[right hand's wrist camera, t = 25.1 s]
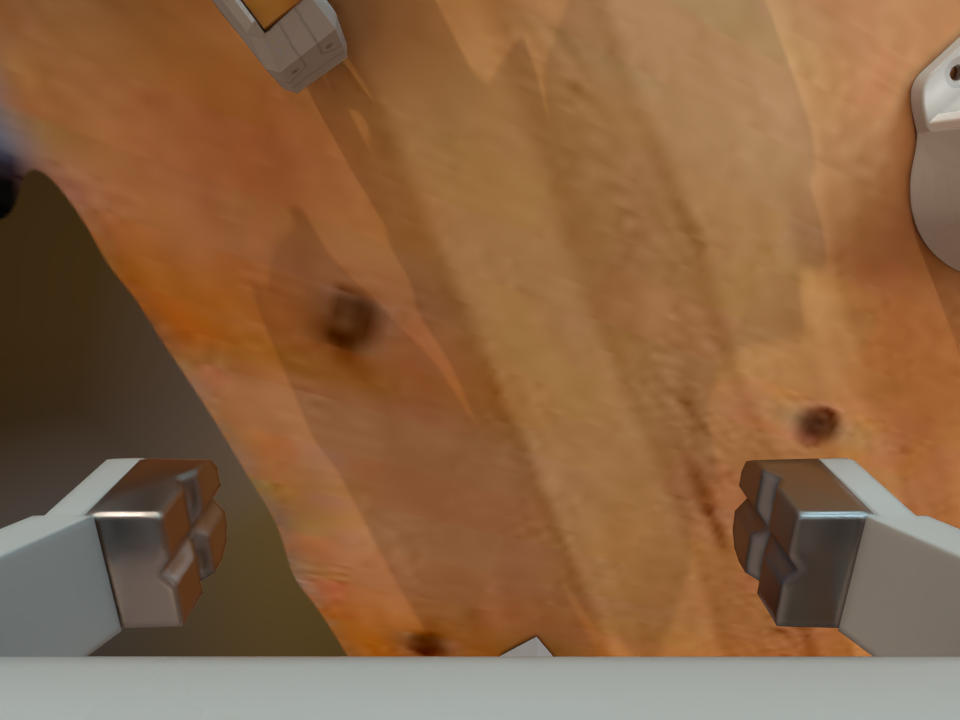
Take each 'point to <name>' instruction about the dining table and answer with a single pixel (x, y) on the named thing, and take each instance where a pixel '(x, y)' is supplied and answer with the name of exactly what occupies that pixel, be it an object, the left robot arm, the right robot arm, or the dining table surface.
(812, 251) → the dining table surface
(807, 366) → the dining table surface
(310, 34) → the robot
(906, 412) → the dining table surface
